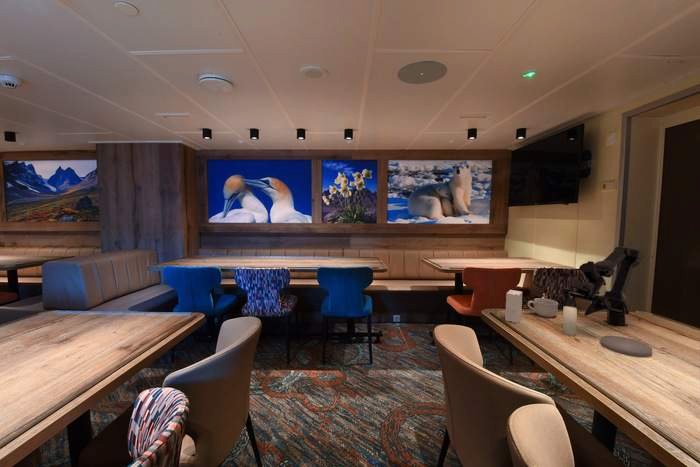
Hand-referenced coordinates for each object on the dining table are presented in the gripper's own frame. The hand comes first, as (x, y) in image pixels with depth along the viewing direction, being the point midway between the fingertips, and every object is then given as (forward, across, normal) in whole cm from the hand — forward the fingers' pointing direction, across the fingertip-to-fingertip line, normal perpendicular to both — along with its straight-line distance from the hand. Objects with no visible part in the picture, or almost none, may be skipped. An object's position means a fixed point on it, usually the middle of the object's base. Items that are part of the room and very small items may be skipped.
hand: (574, 311), depth 130 cm
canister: (+9, 0, +5) cm, 10 cm away
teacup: (+1, -22, +13) cm, 26 cm away
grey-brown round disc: (+4, +17, +10) cm, 20 cm away
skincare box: (+16, -22, -1) cm, 27 cm away
